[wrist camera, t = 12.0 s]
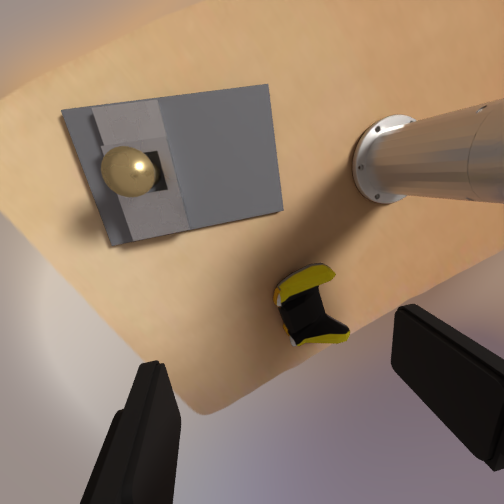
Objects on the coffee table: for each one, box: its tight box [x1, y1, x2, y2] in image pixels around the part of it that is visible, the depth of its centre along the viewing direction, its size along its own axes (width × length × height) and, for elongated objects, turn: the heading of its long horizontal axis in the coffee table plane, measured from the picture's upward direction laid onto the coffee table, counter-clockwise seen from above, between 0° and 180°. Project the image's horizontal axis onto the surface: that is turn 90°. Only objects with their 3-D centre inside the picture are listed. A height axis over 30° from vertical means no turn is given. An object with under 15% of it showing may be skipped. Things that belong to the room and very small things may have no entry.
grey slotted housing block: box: [92, 100, 190, 241], centre depth 29 cm, size 7×15×2 cm, turn 10°
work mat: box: [61, 84, 284, 246], centre depth 31 cm, size 24×16×1 cm, turn 100°
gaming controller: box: [273, 263, 350, 346], centre depth 39 cm, size 15×6×10 cm
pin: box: [101, 146, 161, 197], centre depth 26 cm, size 4×4×9 cm
